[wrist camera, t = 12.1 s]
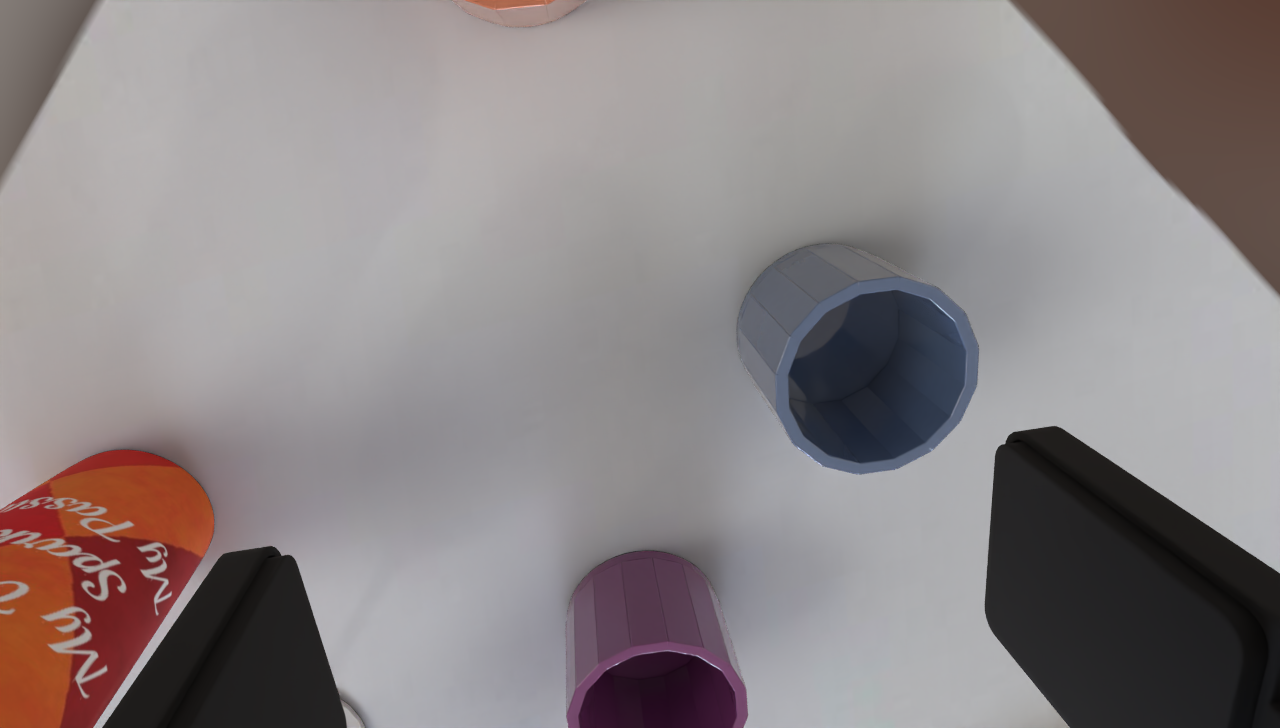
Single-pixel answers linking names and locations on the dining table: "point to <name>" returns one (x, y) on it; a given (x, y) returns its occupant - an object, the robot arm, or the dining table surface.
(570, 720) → the plum cup
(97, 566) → the coffee cup
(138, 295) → the dining table surface
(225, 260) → the dining table surface
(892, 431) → the blue faceted cup
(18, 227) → the dining table surface
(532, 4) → the terracotta cup
